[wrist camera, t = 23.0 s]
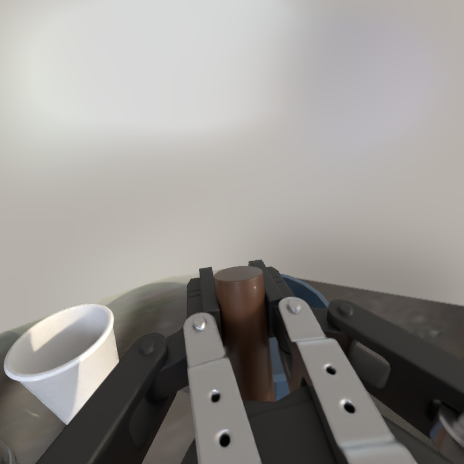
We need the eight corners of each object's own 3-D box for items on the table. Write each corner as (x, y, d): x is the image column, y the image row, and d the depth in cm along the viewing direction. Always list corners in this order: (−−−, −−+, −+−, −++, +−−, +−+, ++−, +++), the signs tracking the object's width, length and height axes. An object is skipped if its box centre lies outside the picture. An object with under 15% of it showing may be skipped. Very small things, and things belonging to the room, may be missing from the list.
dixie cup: (125, 437, 22) (92, 367, 18) (29, 457, 21) (-28, 388, 17) (142, 358, 29) (123, 297, 25) (73, 371, 28) (41, 308, 24)
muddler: (246, 623, 10) (202, 295, 8) (228, 515, 13) (194, 269, 11) (319, 583, 11) (294, 277, 9) (284, 491, 14) (261, 258, 12)
